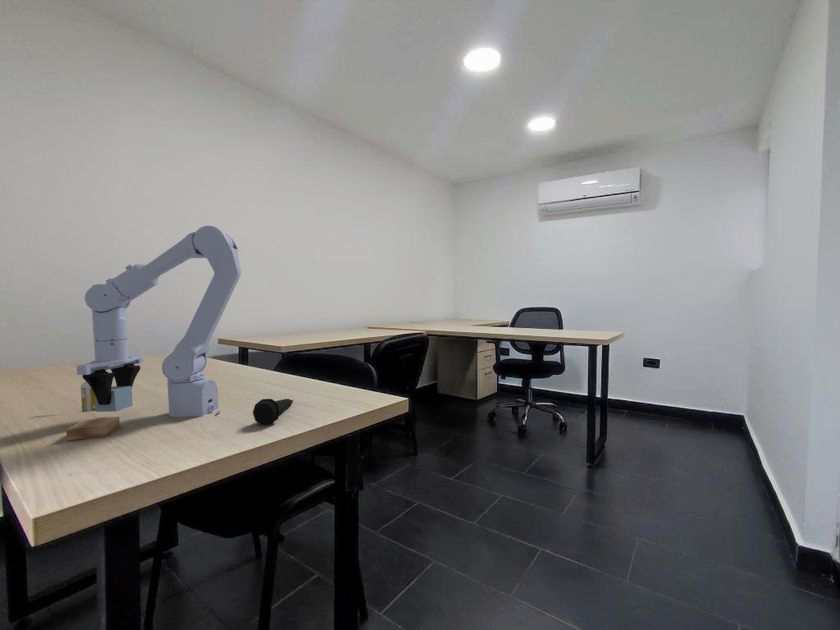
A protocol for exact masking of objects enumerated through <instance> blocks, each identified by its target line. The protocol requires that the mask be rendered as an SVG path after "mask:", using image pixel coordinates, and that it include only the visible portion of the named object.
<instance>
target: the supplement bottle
mask: <svg viewBox="0 0 840 630" xmlns="http://www.w3.org/2000/svg"><path fill="white" fill-rule="evenodd" d="M80 399H81V412H82V413H86V412H96V405H95V394H94V392H93V390H92V388H91V387H90V385H89V384H88V383H87V382H86V381H85V380H84V382H82V383H81V384H80Z"/></svg>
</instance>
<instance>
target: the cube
mask: <svg viewBox="0 0 840 630" xmlns="http://www.w3.org/2000/svg"><path fill="white" fill-rule="evenodd" d="M132 390H133V386H132V387H131V386H116V385H115V386H112V387H111V402H110V404H108V405H99V404H98V401H97V399H96V396H95V405H96V411H95V412H97V413H98V412H99V413H100V412H101V413H103V412H104V413H105V412H107V413H108V412H109V413H110V412H118V411H121V410H124V409H127V408H130V407H132V406H133V404H134V403H133V391H132Z"/></svg>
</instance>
